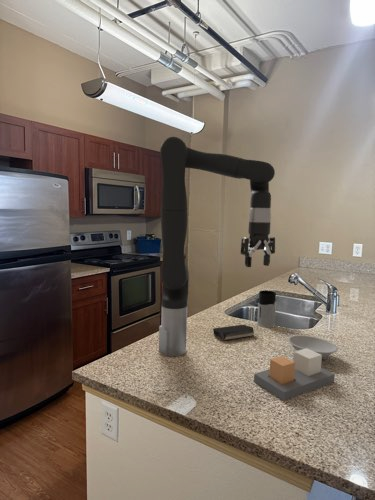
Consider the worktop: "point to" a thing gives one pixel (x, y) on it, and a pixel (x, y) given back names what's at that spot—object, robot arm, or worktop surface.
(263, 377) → the square-hole base plate
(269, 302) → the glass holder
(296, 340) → the dish
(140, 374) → the worktop surface
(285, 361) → the plug
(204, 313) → the worktop surface
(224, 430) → the worktop surface
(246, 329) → the black sponge
